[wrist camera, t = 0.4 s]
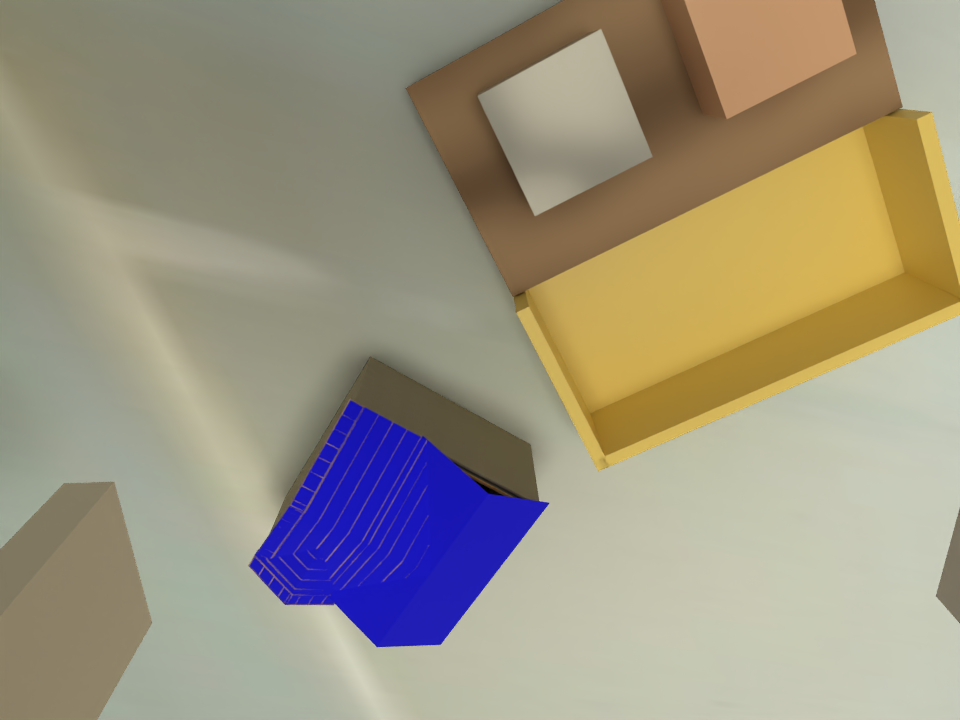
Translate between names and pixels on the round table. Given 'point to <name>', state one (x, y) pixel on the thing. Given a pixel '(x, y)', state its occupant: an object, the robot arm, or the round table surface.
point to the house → (400, 512)
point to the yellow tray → (753, 290)
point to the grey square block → (565, 122)
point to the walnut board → (663, 119)
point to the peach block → (755, 47)
